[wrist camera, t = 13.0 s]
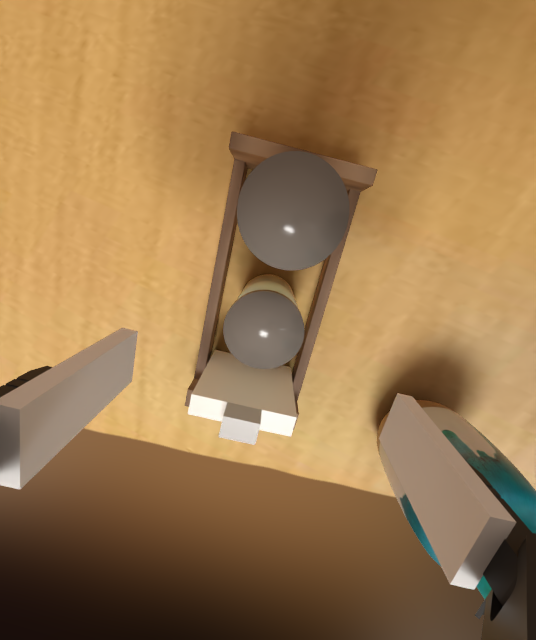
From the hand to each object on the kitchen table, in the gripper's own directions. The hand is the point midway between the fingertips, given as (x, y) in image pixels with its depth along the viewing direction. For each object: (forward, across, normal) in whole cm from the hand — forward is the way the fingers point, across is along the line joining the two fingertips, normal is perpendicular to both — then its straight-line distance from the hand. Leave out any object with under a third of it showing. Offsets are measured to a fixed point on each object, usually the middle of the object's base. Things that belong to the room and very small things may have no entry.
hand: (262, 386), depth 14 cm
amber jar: (+19, +1, -9) cm, 21 cm away
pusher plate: (+19, +1, +8) cm, 20 cm away
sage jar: (+19, +1, 0) cm, 19 cm away
